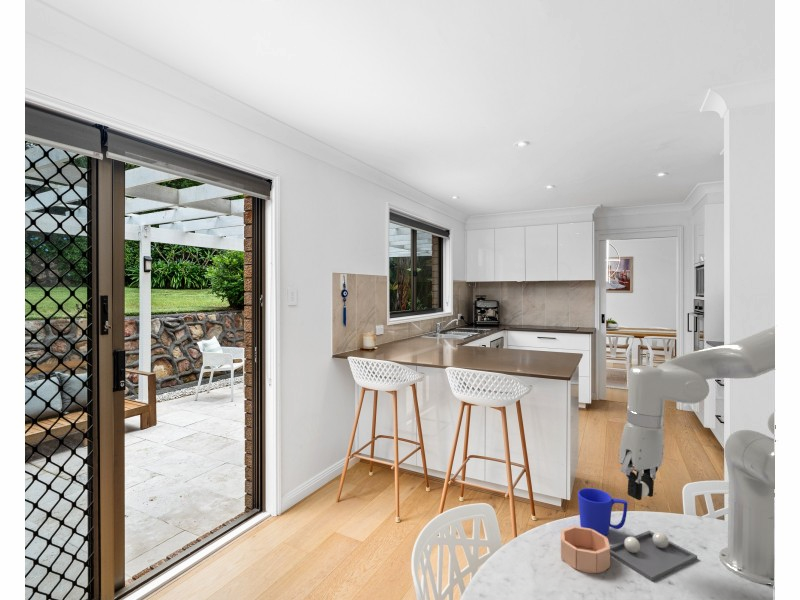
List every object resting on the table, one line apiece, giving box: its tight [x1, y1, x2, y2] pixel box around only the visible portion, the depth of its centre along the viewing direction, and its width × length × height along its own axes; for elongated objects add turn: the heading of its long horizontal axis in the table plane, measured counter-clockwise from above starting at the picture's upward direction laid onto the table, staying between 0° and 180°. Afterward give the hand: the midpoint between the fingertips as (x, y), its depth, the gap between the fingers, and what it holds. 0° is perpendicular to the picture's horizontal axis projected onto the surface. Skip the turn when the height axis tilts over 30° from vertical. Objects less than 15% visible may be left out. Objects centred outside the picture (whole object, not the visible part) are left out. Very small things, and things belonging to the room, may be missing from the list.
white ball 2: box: [640, 481, 649, 498], centre depth 103 cm, size 4×4×4 cm
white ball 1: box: [623, 536, 640, 553], centre depth 107 cm, size 4×4×4 cm
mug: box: [577, 487, 628, 537], centre depth 115 cm, size 8×12×10 cm
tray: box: [609, 530, 698, 582], centre depth 105 cm, size 17×12×1 cm
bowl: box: [560, 525, 611, 574], centre depth 104 cm, size 11×11×5 cm
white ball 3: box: [652, 531, 670, 548], centre depth 108 cm, size 4×4×4 cm
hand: (640, 495), depth 103 cm, fingers closed on white ball 2, 3 cm apart
